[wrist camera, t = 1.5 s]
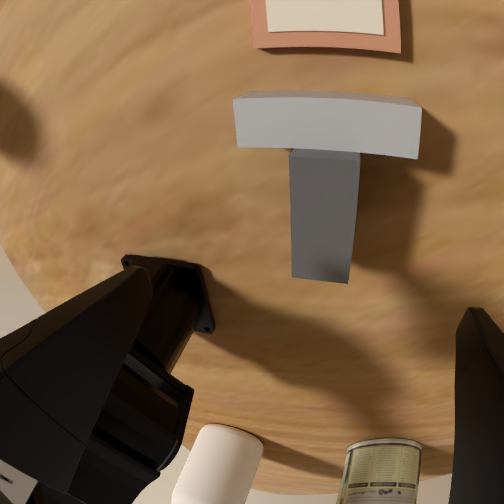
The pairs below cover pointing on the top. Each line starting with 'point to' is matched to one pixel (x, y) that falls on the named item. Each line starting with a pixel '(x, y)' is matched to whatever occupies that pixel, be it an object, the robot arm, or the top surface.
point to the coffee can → (381, 472)
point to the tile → (326, 24)
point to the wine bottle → (219, 467)
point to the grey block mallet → (326, 162)
